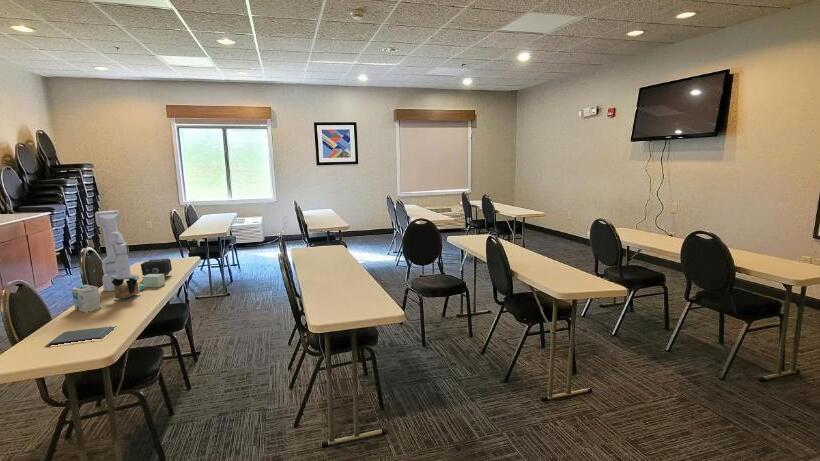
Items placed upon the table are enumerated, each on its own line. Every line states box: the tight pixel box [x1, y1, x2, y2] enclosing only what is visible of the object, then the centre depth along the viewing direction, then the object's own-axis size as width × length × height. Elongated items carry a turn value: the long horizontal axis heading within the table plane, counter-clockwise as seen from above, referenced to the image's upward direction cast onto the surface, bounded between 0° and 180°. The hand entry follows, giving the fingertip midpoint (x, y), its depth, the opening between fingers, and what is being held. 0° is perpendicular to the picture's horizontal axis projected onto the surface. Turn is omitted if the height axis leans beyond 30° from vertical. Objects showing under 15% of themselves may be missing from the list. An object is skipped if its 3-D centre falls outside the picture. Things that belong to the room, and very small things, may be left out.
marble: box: [138, 284, 146, 291], centre depth 224 cm, size 3×3×3 cm
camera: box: [140, 258, 173, 277], centre depth 247 cm, size 11×11×15 cm
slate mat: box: [113, 294, 141, 302], centre depth 211 cm, size 8×8×1 cm
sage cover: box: [142, 274, 166, 288], centre depth 231 cm, size 5×9×6 cm, turn 85°
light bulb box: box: [71, 284, 102, 313], centre depth 196 cm, size 11×7×11 cm, turn 62°
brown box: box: [114, 281, 140, 299], centre depth 211 cm, size 5×9×6 cm, turn 175°
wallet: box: [44, 325, 118, 348], centre depth 166 cm, size 20×2×15 cm
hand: (126, 292), depth 211 cm, fingers closed on brown box, 5 cm apart
